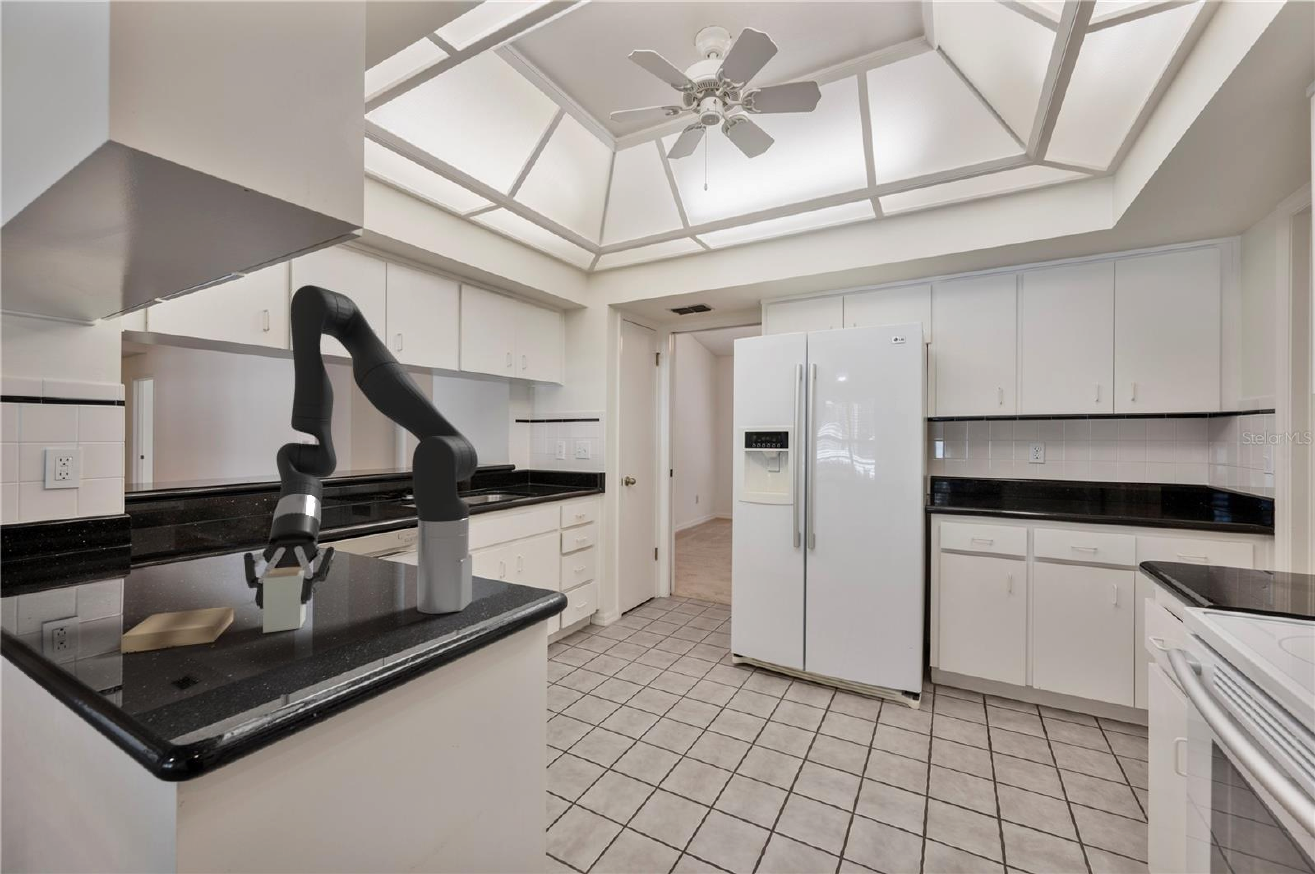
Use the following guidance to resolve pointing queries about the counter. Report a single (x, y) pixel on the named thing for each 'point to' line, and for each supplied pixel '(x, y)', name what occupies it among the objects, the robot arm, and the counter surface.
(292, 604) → the pale green upright block
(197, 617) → the base slab
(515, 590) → the counter surface
